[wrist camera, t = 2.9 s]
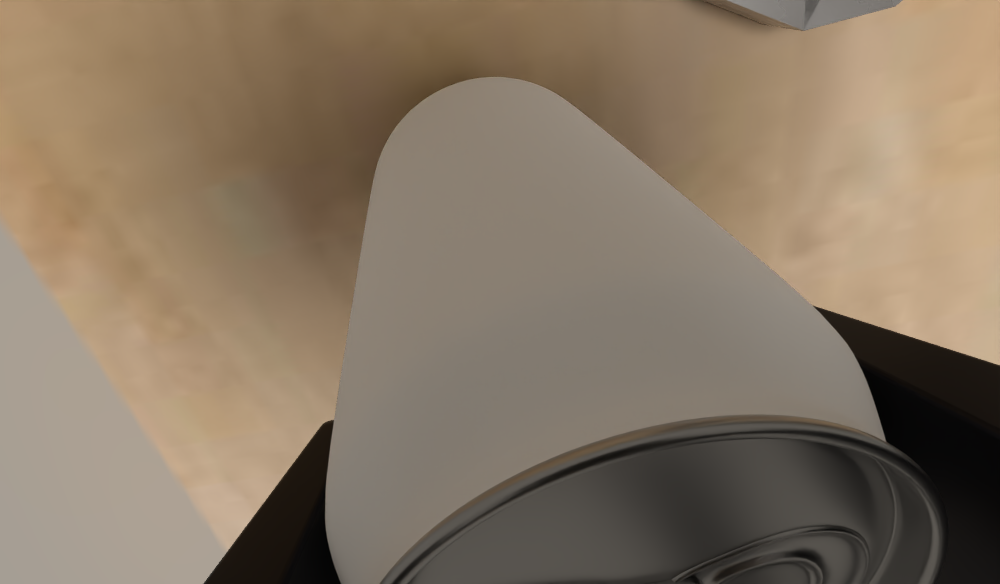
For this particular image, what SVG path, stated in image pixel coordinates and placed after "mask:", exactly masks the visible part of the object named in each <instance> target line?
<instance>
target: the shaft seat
mask: <svg viewBox="0 0 1000 584" xmlns="http://www.w3.org/2000/svg"><path fill="white" fill-rule="evenodd" d="M703 1H705V2H708V3H710V4H713V5H716V6H718V7H721V8H723V9H726V10H728V11H731V12H733V13H736V14H739V15H741V16H744V17H746V18H749V19H751V20H754V21H757V22H759V23H762V24H764V25H770V26H776V27H782V28H789V29H795V30H801V31H805V30H808V29H812V28H816V27H820V26H823V25H827V24H831V23H835V22H838V21H842V20H846V19H850V18H853V17H857V16H861V15H865V14H868V13H872V12H876V11H880V10H883V9H887V8H891V7H895V6H896V5H897V4H899V3H900V2H901V1H902V0H703Z"/></svg>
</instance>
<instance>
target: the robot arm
mask: <svg viewBox="0 0 1000 584" xmlns="http://www.w3.org/2000/svg"><path fill="white" fill-rule="evenodd" d="M813 307H814V308H815V309H816V310H818V311H819V312H820V313H821V315H822V316H823V317H824V318H825V319H826V320H827V321H828V322H829V323H830V324H831V326H832V327H833V328H834V329H835V330H836V331H837V332H838V333H839V334H840V336H841V337H842V338H843V339H844V341H845V342H846V343H847V345H848V346H849V348H850V349H851V351H852V352H853V354H854V356H855V358H856V360H857V361H858V363H859V365H860V368H861V370H862V372H863V374H864V376H865V378H866V381H867V383H868V386H869V389H870V391H871V394H872V397H873V400H874V403H875V406H876V409H877V413H878V416H879V419H880V422H881V426H882V429H883V433H884V436H885V439H886V442H887V443H889V444H890V445H892V446H894V447H895V448H897V449H899V450H900V451H902V452H903V453H904V454H906V455H907V456H908V457H910V458H911V459H912V460H913V461H914V462H915V463H917V464H918V465H919V466H920V467H921V468H922V469H923V470H924V472H925V473H926V474H927V475H928V476H929V478H930V479H931V480H932V482H933V483H934V485H935V486H936V488H937V489H938V491H939V493H940V495H941V498H942V500H943V503H944V505H945V509H946V513H947V518H948V527H949V538H948V548H947V553H946V557H945V561H944V564H943V567H942V570H941V573H940V575H939V577H938V579H937V582H936V584H1000V365H997V364H994V363H991V362H987V361H984V360H981V359H978V358H975V357H972V356H969V355H966V354H962V353H959V352H956V351H953V350H950V349H947V348H944V347H940V346H937V345H934V344H931V343H928V342H925V341H922V340H919V339H915V338H912V337H909V336H906V335H903V334H900V333H897V332H894V331H890V330H887V329H884V328H881V327H878V326H875V325H872V324H869V323H865V322H862V321H859V320H856V319H853V318H850V317H847V316H844V315H840V314H837V313H834V312H831V311H828V310H825V309H822V308H818V307H815V306H813ZM333 424H334V420H331V421H328V422H325V423H324V424H323V425H322V426H321V427H320V428H319V430H318V431H317V432H316V434H315V435H314V436H313V438H312V439H311V440H310V442H309V443H308V444H307V446H306V447H305V448H304V450H303V451H302V452H301V454H300V455H299V456H298V458H297V459H296V460H295V462H294V463H293V464H292V466H291V467H290V468H289V470H288V471H287V472H286V474H285V475H284V476H283V478H282V479H281V481H280V482H279V483H278V485H277V486H276V487H275V489H274V490H273V491H272V493H271V494H270V495H269V497H268V498H267V499H266V501H265V502H264V503H263V505H262V506H261V507H260V509H259V510H258V511H257V513H256V514H255V515H254V517H253V518H252V519H251V521H250V522H249V523H248V525H247V526H246V527H245V529H244V530H243V531H242V533H241V534H240V535H239V537H238V538H237V539H236V541H235V542H234V544H233V545H232V546H231V548H230V549H229V550H228V552H227V553H226V554H225V556H224V557H223V558H222V560H221V561H220V562H219V564H218V565H217V566H216V568H215V569H214V571H213V572H212V573H211V574H210V576H209V577H208V578H207V580H206V581H205V582H204V584H341V583H340V580H339V577H338V575H337V572H336V569H335V566H334V563H333V560H332V556H331V553H330V549H329V544H328V540H327V534H326V525H325V497H326V479H327V471H328V462H329V454H330V445H331V438H332V431H333Z"/></svg>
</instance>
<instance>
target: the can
mask: <svg viewBox="0 0 1000 584" xmlns="http://www.w3.org/2000/svg"><path fill="white" fill-rule="evenodd" d="M325 525H326V534H327V540H328V544H329V549H330V553H331V556H332V560H333V563H334V566H335V569H336V572H337V575H338V577H339V580H340V583H341V584H936V582H937V579H938V577H939V575H940V573H941V570H942V567H943V564H944V561H945V557H946V553H947V548H948V538H949V527H948V518H947V513H946V509H945V505H944V503H943V500H942V498H941V495H940V493H939V491H938V489H937V488H936V486H935V485H934V483H933V482H932V480H931V479H930V478H929V476H928V475H927V474H926V473H925V472H924V470H923V469H922V468H921V467H920V466H919V465H918V464H917V463H915V462H914V461H913V460H912V459H911V458H910V457H908V456H907V455H906V454H904V453H903V452H902V451H900V450H899V449H897V448H895V447H894V446H892V445H890V444H889V443H887V442H886V439H885V436H884V433H883V429H882V426H881V422H880V419H879V416H878V413H877V409H876V406H875V403H874V400H873V397H872V394H871V391H870V389H869V386H868V383H867V381H866V378H865V376H864V374H863V372H862V370H861V368H860V365H859V363H858V361H857V360H856V358H855V356H854V354H853V352H852V351H851V349H850V348H849V346H848V345H847V343H846V342H845V341H844V339H843V338H842V337H841V336H840V334H839V333H838V332H837V331H836V330H835V329H834V328H833V327H832V326H831V324H830V323H829V322H828V321H827V320H826V319H825V318H824V317H823V316H822V315H821V313H820V312H819V311H818V310H816V309H815V308H814V307H813V306H812V305H811V304H810V303H809V302H808V301H807V300H806V299H805V298H803V297H802V296H801V295H800V294H799V293H798V292H797V291H796V290H795V289H793V288H792V287H791V286H790V285H789V284H788V283H787V282H786V281H785V280H784V279H782V278H781V277H780V276H779V275H778V274H776V273H775V272H774V271H773V270H772V269H771V268H769V267H768V266H767V265H766V264H765V263H764V262H762V261H761V260H760V259H759V258H758V257H756V256H755V255H754V254H753V253H752V252H751V251H749V250H748V249H747V248H746V247H745V246H743V245H742V244H741V243H740V242H739V241H738V240H736V239H735V238H734V237H733V236H732V235H730V234H729V233H728V232H727V231H726V230H724V229H723V228H722V227H721V226H720V225H718V224H717V223H716V222H715V221H714V220H712V219H711V218H710V217H709V216H708V215H706V214H705V213H704V212H703V211H702V210H700V209H699V208H698V207H697V206H696V205H694V204H693V203H692V202H691V201H690V200H688V199H687V198H686V197H685V196H684V195H682V194H681V193H680V192H679V191H678V190H676V189H675V188H674V187H673V186H672V185H670V184H669V183H668V182H667V181H666V180H664V179H663V178H662V177H661V176H659V175H658V174H657V173H656V172H655V171H653V170H652V169H651V168H650V167H649V166H647V165H646V164H645V163H644V162H643V161H641V160H640V159H639V158H638V157H636V156H635V155H634V154H633V153H632V152H630V151H629V150H628V149H627V148H625V147H624V146H623V145H622V144H621V143H619V142H618V141H617V140H616V139H614V138H613V137H612V136H611V135H610V134H608V133H607V132H606V131H605V130H603V129H602V128H601V127H600V126H599V125H597V124H596V123H595V122H594V121H592V120H591V119H590V118H589V117H587V116H586V115H585V114H584V113H582V112H581V111H580V110H579V109H577V108H576V107H575V106H573V105H572V104H571V103H569V102H568V101H567V100H565V99H564V98H562V97H561V96H559V95H558V94H556V93H554V92H552V91H550V90H549V89H546V88H544V87H542V86H540V85H537V84H534V83H531V82H528V81H524V80H520V79H515V78H507V77H483V78H476V79H470V80H466V81H462V82H459V83H456V84H453V85H450V86H448V87H445V88H443V89H441V90H439V91H437V92H435V93H433V94H432V95H430V96H429V97H427V98H425V99H424V100H423V101H421V102H420V103H419V104H417V105H416V106H415V107H414V108H413V109H412V110H410V111H409V112H408V113H407V114H406V115H405V117H404V118H403V119H402V120H401V121H400V122H399V124H398V125H397V126H396V127H395V129H394V130H393V132H392V133H391V135H390V137H389V138H388V140H387V142H386V144H385V146H384V148H383V150H382V152H381V155H380V157H379V160H378V163H377V167H376V171H375V175H374V179H373V184H372V189H371V195H370V200H369V206H368V212H367V218H366V223H365V229H364V235H363V241H362V247H361V253H360V259H359V265H358V272H357V278H356V284H355V290H354V296H353V302H352V309H351V315H350V321H349V327H348V334H347V340H346V346H345V353H344V359H343V365H342V372H341V378H340V384H339V391H338V398H337V404H336V411H335V418H334V424H333V431H332V438H331V445H330V454H329V462H328V471H327V479H326V497H325Z"/></svg>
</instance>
